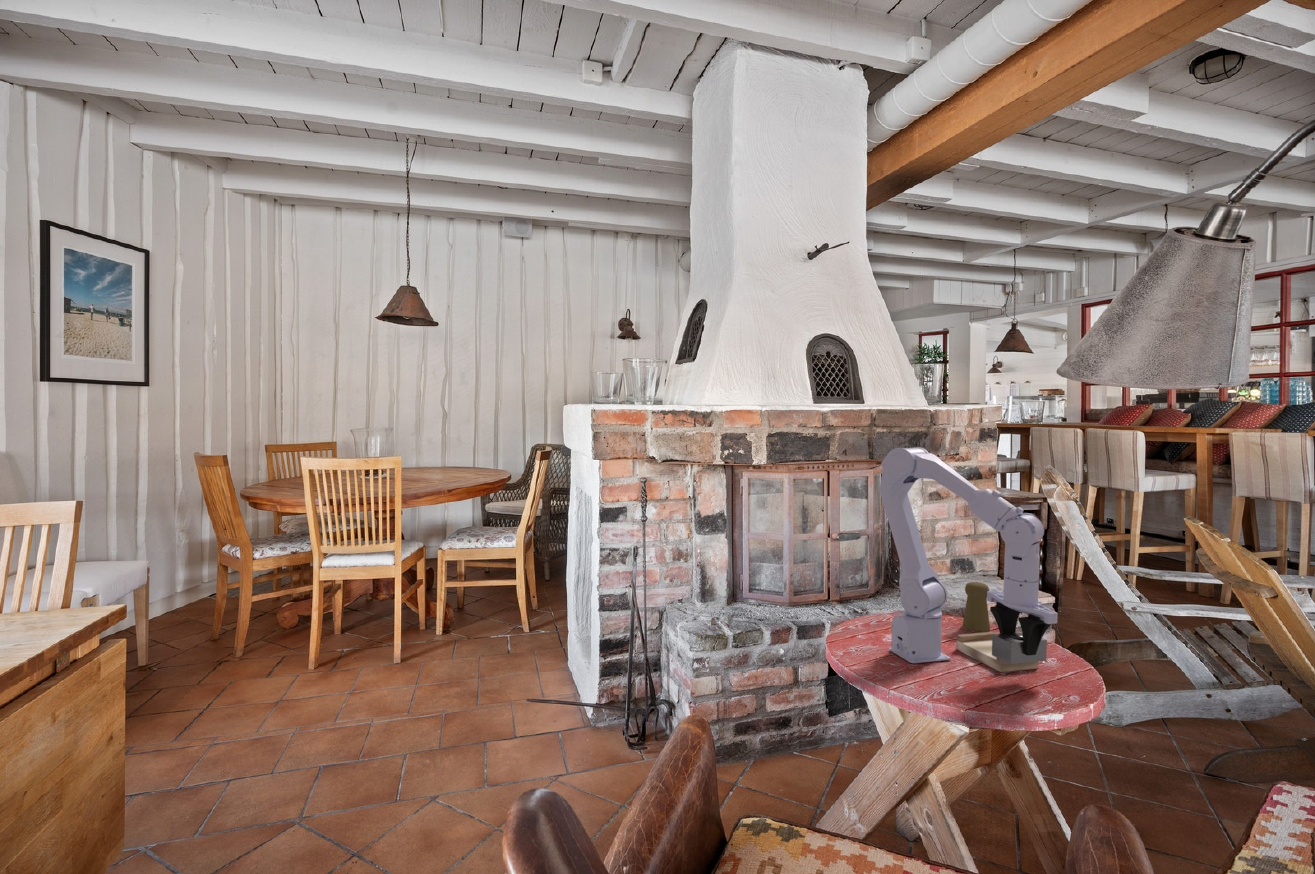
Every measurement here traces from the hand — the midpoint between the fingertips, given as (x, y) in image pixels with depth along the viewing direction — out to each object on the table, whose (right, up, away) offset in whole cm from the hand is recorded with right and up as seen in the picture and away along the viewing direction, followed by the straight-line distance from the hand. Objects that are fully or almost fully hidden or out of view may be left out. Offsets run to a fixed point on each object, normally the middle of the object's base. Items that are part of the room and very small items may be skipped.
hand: (1018, 649), depth 118 cm
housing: (0, -2, 0) cm, 2 cm away
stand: (+2, -6, +12) cm, 14 cm away
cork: (+8, -6, +31) cm, 32 cm away
